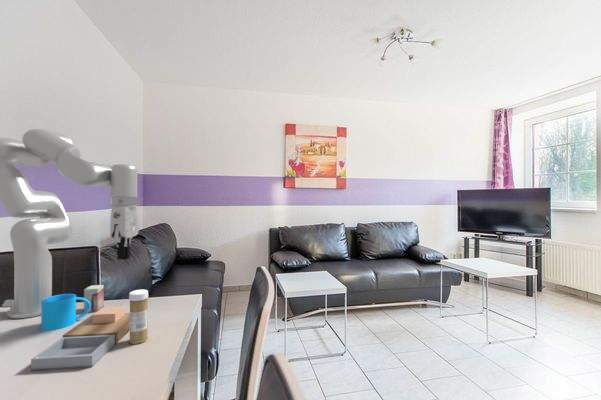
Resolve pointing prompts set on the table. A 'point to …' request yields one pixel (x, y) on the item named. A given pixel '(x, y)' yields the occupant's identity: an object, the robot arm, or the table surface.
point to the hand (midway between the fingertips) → (123, 258)
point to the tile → (108, 314)
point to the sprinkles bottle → (138, 316)
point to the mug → (60, 311)
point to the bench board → (102, 328)
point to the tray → (73, 352)
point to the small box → (94, 297)
